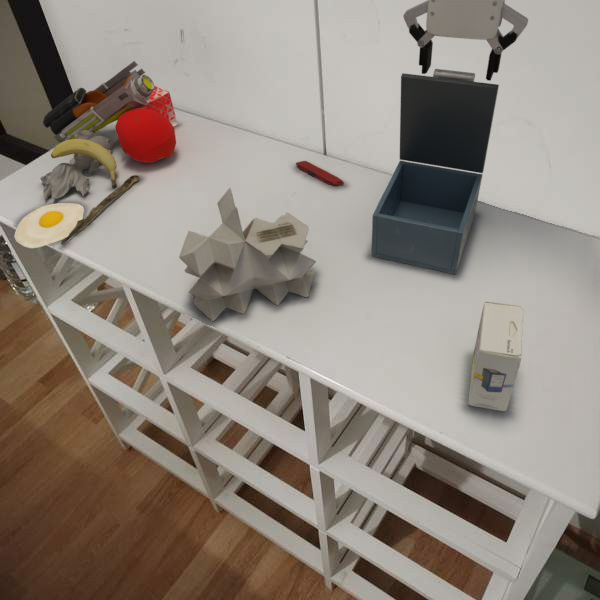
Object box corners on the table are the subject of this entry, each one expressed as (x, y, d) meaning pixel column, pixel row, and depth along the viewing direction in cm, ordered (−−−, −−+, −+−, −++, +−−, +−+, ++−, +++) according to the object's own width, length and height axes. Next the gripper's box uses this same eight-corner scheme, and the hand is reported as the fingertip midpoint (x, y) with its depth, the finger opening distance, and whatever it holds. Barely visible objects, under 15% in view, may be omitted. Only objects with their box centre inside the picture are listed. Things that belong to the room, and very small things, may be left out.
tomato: (96, 129, 113) (117, 168, 121) (149, 137, 109) (167, 177, 117) (125, 95, 119) (144, 134, 127) (177, 101, 114) (192, 142, 123)
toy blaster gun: (115, 69, 108) (129, 42, 115) (36, 131, 121) (52, 103, 127) (152, 106, 114) (162, 78, 120) (72, 161, 127) (86, 133, 133)
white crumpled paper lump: (205, 224, 75) (193, 163, 85) (164, 320, 86) (157, 256, 96) (348, 257, 86) (322, 199, 96) (295, 339, 96) (277, 279, 106)
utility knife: (301, 162, 116) (294, 167, 115) (300, 157, 115) (293, 162, 114) (344, 185, 110) (337, 190, 109) (344, 180, 109) (337, 185, 108)
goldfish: (78, 198, 109) (35, 165, 106) (62, 224, 116) (21, 194, 113) (131, 147, 123) (94, 116, 120) (113, 173, 129) (78, 145, 127)
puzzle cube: (118, 96, 124) (140, 107, 120) (147, 81, 128) (169, 92, 124) (129, 129, 130) (150, 140, 126) (156, 114, 134) (177, 124, 130)
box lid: (497, 87, 81) (505, 65, 83) (400, 76, 85) (410, 55, 88) (482, 173, 94) (489, 152, 97) (399, 159, 99) (407, 139, 101)
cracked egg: (76, 242, 104) (74, 236, 103) (8, 251, 104) (5, 245, 103) (87, 199, 113) (84, 194, 112) (24, 207, 113) (21, 202, 112)
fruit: (114, 189, 115) (117, 180, 113) (47, 161, 111) (48, 151, 109) (127, 164, 119) (129, 155, 117) (62, 136, 115) (64, 126, 113)
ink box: (505, 413, 75) (525, 359, 66) (465, 405, 76) (479, 351, 67) (508, 361, 80) (526, 304, 71) (470, 354, 81) (484, 298, 72)
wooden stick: (59, 246, 104) (54, 237, 102) (136, 176, 117) (133, 168, 116) (65, 248, 103) (61, 239, 102) (142, 178, 116) (139, 170, 115)
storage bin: (455, 274, 92) (462, 233, 85) (371, 256, 96) (372, 215, 90) (474, 215, 101) (482, 174, 95) (397, 200, 106) (399, 160, 99)
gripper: (546, -62, 74) (520, 67, 87) (414, -65, 80) (408, 57, 92) (538, -42, 70) (512, 91, 82) (400, -47, 75) (395, 78, 88)
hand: (457, 73), depth 87 cm, fingers open, 9 cm apart
